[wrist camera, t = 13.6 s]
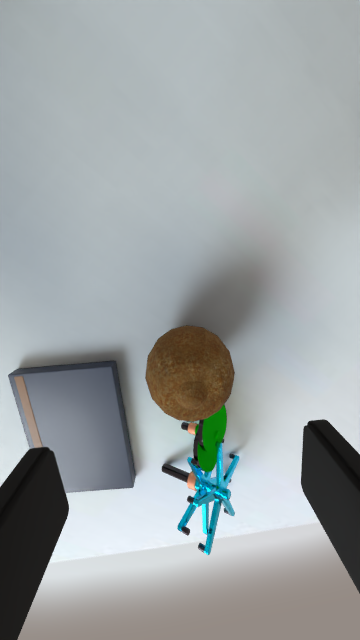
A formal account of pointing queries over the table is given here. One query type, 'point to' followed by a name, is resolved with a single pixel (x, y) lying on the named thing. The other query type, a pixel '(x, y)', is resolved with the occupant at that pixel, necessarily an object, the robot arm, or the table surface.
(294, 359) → the table surface
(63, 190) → the table surface
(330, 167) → the table surface
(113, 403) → the notebook
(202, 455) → the stick construction toy
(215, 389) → the fruit
